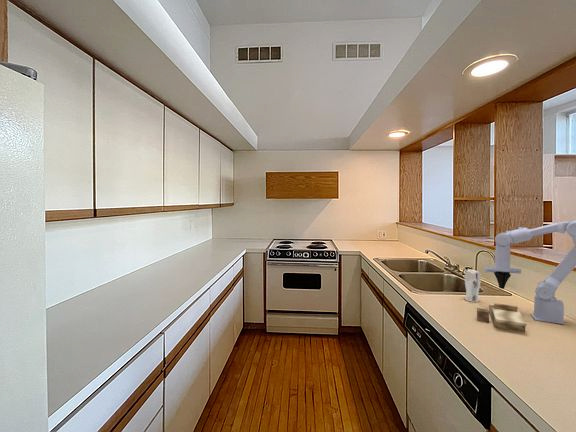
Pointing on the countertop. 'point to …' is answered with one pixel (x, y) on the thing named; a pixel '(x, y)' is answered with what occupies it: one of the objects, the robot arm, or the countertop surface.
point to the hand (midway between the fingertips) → (501, 288)
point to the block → (482, 315)
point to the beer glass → (472, 285)
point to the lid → (508, 314)
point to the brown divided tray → (504, 325)
